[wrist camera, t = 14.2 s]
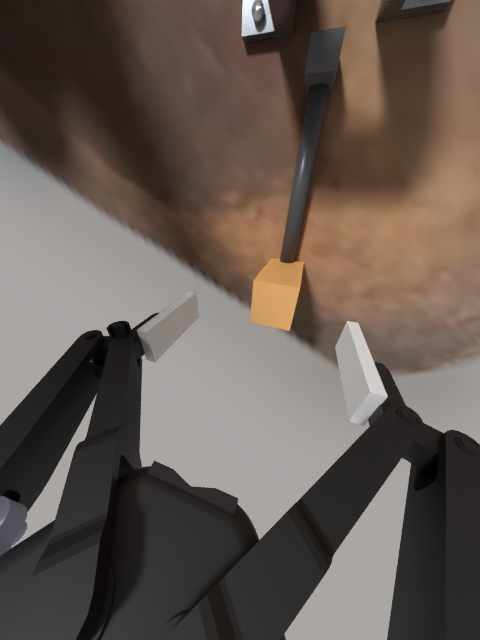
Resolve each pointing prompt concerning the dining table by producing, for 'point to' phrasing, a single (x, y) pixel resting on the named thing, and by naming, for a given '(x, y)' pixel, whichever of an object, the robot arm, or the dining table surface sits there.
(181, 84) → the dining table surface
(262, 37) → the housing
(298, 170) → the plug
